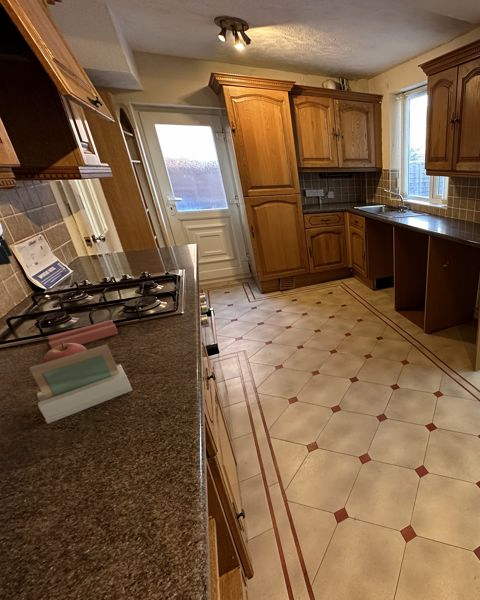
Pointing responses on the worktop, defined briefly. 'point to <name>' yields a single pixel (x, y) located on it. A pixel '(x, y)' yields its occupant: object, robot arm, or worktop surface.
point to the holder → (83, 397)
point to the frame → (74, 371)
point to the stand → (84, 334)
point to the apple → (63, 351)
